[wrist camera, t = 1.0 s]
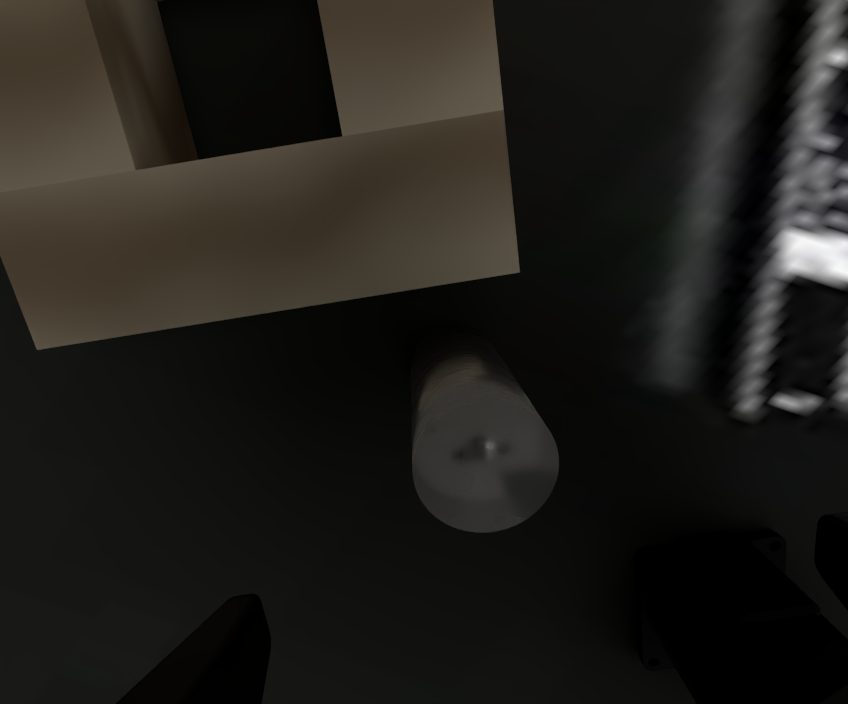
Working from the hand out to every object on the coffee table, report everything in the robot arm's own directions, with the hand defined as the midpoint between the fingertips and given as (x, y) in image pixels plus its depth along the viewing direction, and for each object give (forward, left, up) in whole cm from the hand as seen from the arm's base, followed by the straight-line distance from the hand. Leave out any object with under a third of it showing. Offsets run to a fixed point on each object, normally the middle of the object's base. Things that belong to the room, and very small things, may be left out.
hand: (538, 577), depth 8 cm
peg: (0, 0, -12) cm, 12 cm away
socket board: (+11, +5, -12) cm, 17 cm away
